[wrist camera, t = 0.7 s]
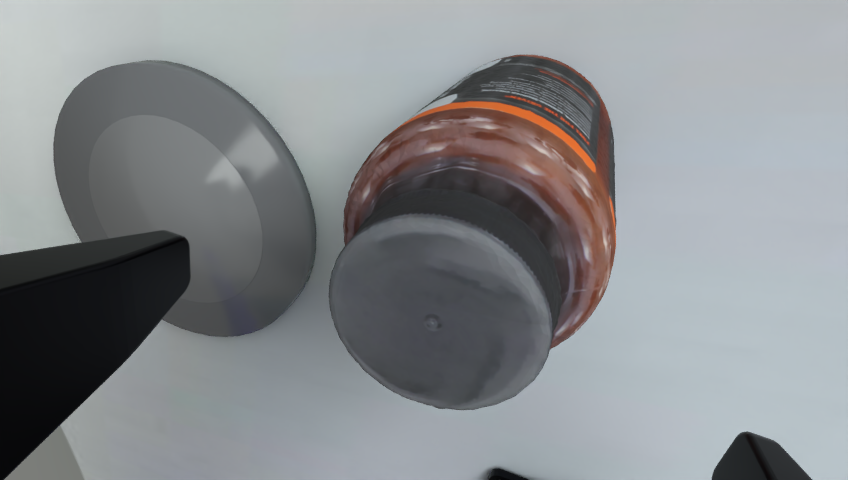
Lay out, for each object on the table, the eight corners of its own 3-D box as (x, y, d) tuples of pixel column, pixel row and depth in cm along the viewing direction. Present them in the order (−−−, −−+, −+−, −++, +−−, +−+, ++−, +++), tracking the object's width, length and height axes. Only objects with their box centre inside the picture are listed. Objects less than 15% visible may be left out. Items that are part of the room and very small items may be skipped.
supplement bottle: (435, 55, 18) (241, 146, 8) (620, 46, 16) (639, 146, 7) (446, 215, 21) (306, 425, 11) (607, 222, 19) (607, 481, 9)
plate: (306, 358, 26) (295, 372, 26) (92, 279, 29) (75, 289, 28) (327, 103, 20) (314, 109, 19) (50, 29, 22) (27, 31, 22)
